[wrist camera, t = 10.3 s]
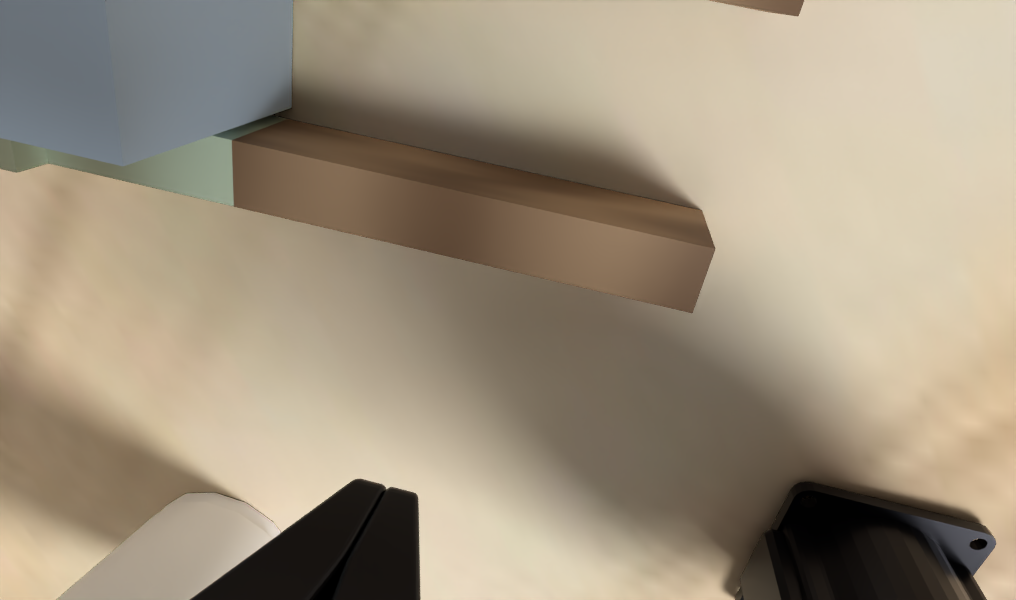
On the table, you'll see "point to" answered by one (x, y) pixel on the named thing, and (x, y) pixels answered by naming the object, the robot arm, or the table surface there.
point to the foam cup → (178, 551)
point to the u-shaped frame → (434, 202)
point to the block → (139, 72)
